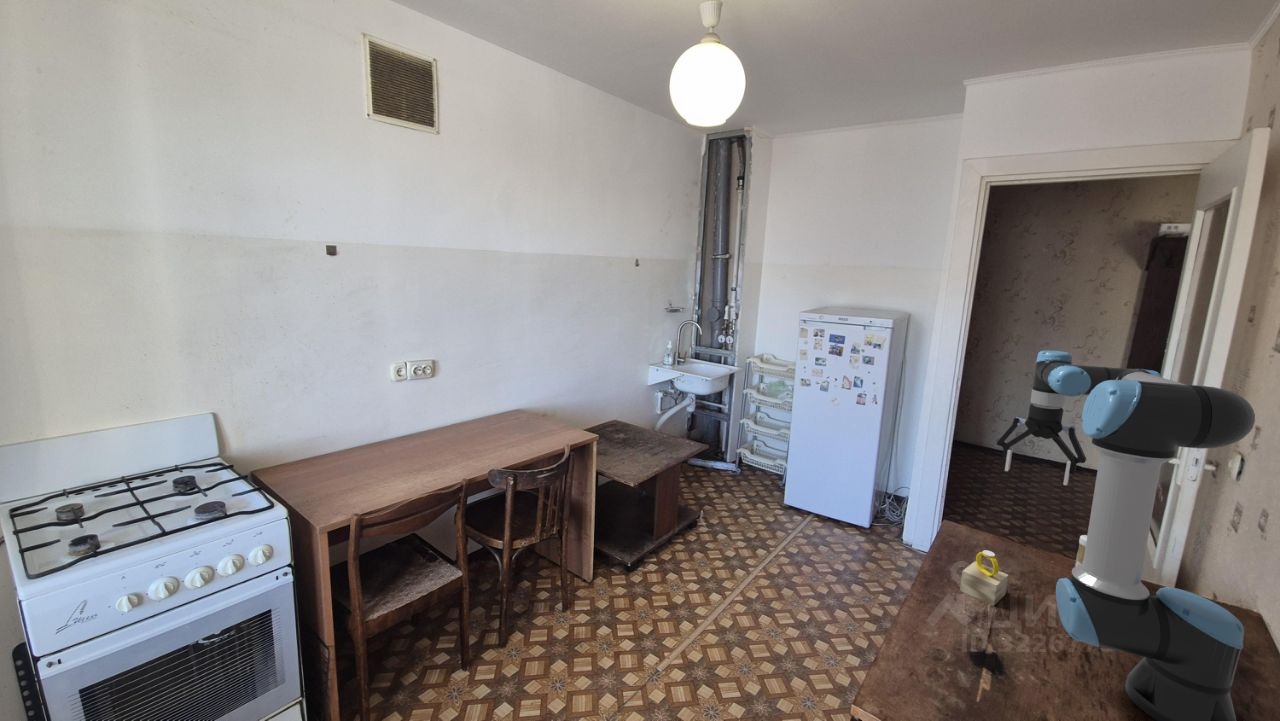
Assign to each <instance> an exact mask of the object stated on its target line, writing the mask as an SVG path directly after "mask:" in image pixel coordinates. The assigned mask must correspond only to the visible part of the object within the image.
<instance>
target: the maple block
mask: <svg viewBox="0 0 1280 721" xmlns="http://www.w3.org/2000/svg"><path fill="white" fill-rule="evenodd" d="M982 566H983V567H984V569H985V570H986V571H988V572H989V573H991V574H992V572H993V567H990V566H988V565H986V564H983V563H982ZM960 579H961V580H960V586H959V591H960V592H962V593H965V594H967V595H969V596H972V597H974V598H975V599H978V600H980V601H982V602H984V603H987V604H988V605H991V606H992V607H993V606H995V605H996V604H997V603H998V602H999V601H1001V599H1002V598H1003V597H1005V595H1006V592H1007V587H1008V580H1009V574H1007V573H1005V572H1002V571H1000V570H999V571H998V573H997V575H995V576H987V575H986V574H985V573H983V572H982V571H980V570H979V568H978V566H977V563H976V560H975V561H973V562H972V563H971V564H969V565H968V566H967V567H965V568H964V569H963V570H962V572H961V578H960Z"/></svg>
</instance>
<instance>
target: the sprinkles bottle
mask: <svg viewBox="0 0 1280 721" xmlns="http://www.w3.org/2000/svg"><path fill="white" fill-rule="evenodd" d="M1087 535H1088V534H1082V535H1080V536H1079V540H1078V544H1079V545H1078V550H1077V554H1076V558H1075V565H1074V567H1076V566H1079V565H1082V564H1083V560H1084V554H1085V547H1086V541H1087Z"/></svg>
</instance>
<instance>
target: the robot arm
mask: <svg viewBox="0 0 1280 721" xmlns="http://www.w3.org/2000/svg"><path fill="white" fill-rule="evenodd" d="M1072 357H1073V355H1072V354H1071V353H1069V352H1066V351H1062V350H1041V351H1039V352H1038V353H1037V358H1036V361H1035V369H1034V376H1033V382H1032V388H1031V394H1030V403H1031V404H1029V408H1028V414H1027V415H1028V416H1027V419H1024V418H1021V416H1015V417H1014V418H1013V421H1012V425H1010V427H1009V428H1008V429H1007V430H1006V431H1005V432H1004V433H1003V435H1002V436H1001V437H1000V438H999V439H998V440H997V442H996V445H997V446H1000V447H1002V456H1001V457H1002V459H1003V460H1005V466H1004V471H1005V472H1009V470H1010V469H1011V463H1012V456H1013V449H1014V448H1012V446H1014V445H1016V444H1017V443H1019V442H1021V441H1022V440H1023V439H1025V438H1027V437H1029V436H1031V435H1032V436H1034V437H1036V438H1043V439H1045V440H1050V439H1051V440H1052V441H1053V442H1054V443H1055V444H1056V445H1057V446H1058V448H1059V449H1060V450H1061V452H1062V453H1063V454H1064V455H1065V456H1066V458H1067V459H1068V460H1067V461H1066V465H1065V466H1066V467H1065V471H1064V477H1063V484H1062V485H1063V486H1068V484H1069V481H1070V480H1069V479H1070V474H1071V475H1074V474H1075V473H1076V468H1077V465H1078V464H1080V463H1081V464H1084V463H1086V460H1087V458H1086V457H1087V456H1086V455H1085V452H1084V451H1083V448H1082V446H1081V443H1080V441H1079V439H1078V437H1077V435H1076V427H1075V426H1074V425H1071V426H1065V425H1063V424H1062V421H1063V415H1064V409H1063V407H1065V403H1066V397H1079V396H1081V395H1083V396H1084V395H1085V396H1087V398H1086V399H1085V403H1084V405H1083V408H1082V413H1081V420H1082V422H1081V426H1082V430H1083V433H1084V434H1085V435H1086V436H1088V437H1090V438H1092V439H1091V445H1092V447H1094V449H1096V451H1098V452H1099V459H1098V466H1097V472H1096V478H1095V485H1094V492H1093V496H1092V497H1093V498H1092V504H1091V511H1090V518H1089V522H1088V529H1087V534H1086V535H1087V541H1086V547H1085V554H1084V560H1083V564H1082V565H1079V566H1076V567H1075V566H1074V567H1073V568H1072V569H1071V575H1070V579H1069V578H1068V577H1062V578H1061V577H1060V578H1059V579H1058V580H1057V582H1056V585H1055V600H1056V606H1057V612H1058V615H1059V619H1060V622H1061V624H1062V626H1063V628H1064V630H1065V632H1066V633H1067V635H1069V636H1070V638H1072V639H1074V640H1076V641H1078V642H1081V643H1084V644H1088V645H1093V646H1094V647H1095V648H1099V647H1100V648H1103V649H1104V648H1105V649H1110V650H1113V651H1118V652H1122V653H1126V654H1129V655H1130V654H1131V655H1135V656H1139V657H1143V658H1142V659H1141V660H1139V662H1138V663H1137V664H1136V665H1135V666H1134V667H1133V668H1132V670H1130V672H1129V673H1128V675H1127V677H1126V681H1125V686H1124V687H1125V692H1126V694H1127V696H1128V697H1129V699H1130V700H1131V702H1132V703H1133V704H1134V705H1136V706H1137V707H1138V708H1139V709H1140V710H1141V711H1143V712H1144V713H1145V714H1146V715H1148V716H1149V717H1151V718H1152V719H1153V720H1155V721H1237V717H1236V713H1235V709H1234V703H1233V701H1232V696H1231V689H1232V686H1233V682H1234V677H1235V674H1236V670H1237V667H1238V662H1239V659H1240V654H1241V652H1242V651H1241V650H1242V649H1243V648H1244V636H1245V628H1244V626H1243V624H1242V622H1241V621H1240V619H1238V617H1236V616H1235V615H1234V614H1233V613H1231V611H1229V610H1227V609H1226V608H1224V607H1223V606H1221V605H1219V604H1217V603H1215V602H1214V601H1212V600H1210V599H1207V598H1205V597H1203V596H1201V595H1198V594H1196V593H1194V592H1190V591H1188V590H1184V589H1180V588H1176V587H1171V586H1170V587H1169V586H1165V587H1160V588H1159V589H1158V590H1157V591H1156V595H1150V593H1151V592H1150V591H1149V589H1148V588H1147V587H1146V586H1145V585H1144V583H1143V582H1141V579H1142V574H1143V571H1144V570H1143V569H1144V568H1143V567H1144V563H1145V558H1146V552H1147V544H1148V540H1149V534H1150V529H1151V523H1152V519H1153V518H1152V517H1153V511H1154V505H1155V500H1156V494H1157V490H1158V483H1159V478H1160V471H1161V466H1162V465H1163V464H1165V463H1166V462H1169V461H1171V460H1174V458H1175V454H1176V450H1177V448H1178V447H1180V448H1189V449H1217V448H1224V447H1226V446H1230V445H1232V444H1235V443H1237V442H1239V441H1241V440H1243V439H1244V438H1246V436H1247V435H1249V434H1250V432H1251V431H1252V430H1253V428H1254V426H1255V422H1256V413H1255V411H1254V409H1253V406H1252V405H1251V403H1250V402H1249V401H1248V400H1246V399H1245V398H1244V397H1243V396H1241V395H1240V394H1237V393H1236V392H1232V391H1231V390H1228V389H1223V388H1219V387H1214V386H1206V385H1195V384H1192V385H1191V384H1185V383H1182V382H1179V381H1174V380H1171V379H1168V378H1164V377H1163V376H1162V375H1161V373H1159V372H1158V371H1155V370H1150V369H1144V368H1123V367H1122V368H1121V367H1109V366H1107V367H1106V366H1096V365H1095V366H1094V365H1083V364H1082V365H1080V364H1079V365H1078V364H1073V362H1072V361H1073V360H1072V359H1073V358H1072ZM1022 425H1025V426H1026V428H1027V429H1026V430H1025V431H1023V432H1022V433H1020V434H1019V435H1017V436H1015V437H1013V439H1011V440H1010V441H1007V442H1006V440H1007V439H1008V438H1009V437H1010V435H1011V434H1012V433H1013V432H1014V431H1015V430H1016V429H1017V428H1018V426H1022ZM1062 431H1063V432H1064V433H1065V434H1066V435H1067V436H1068V438H1069V440H1070V443H1071V445H1072V447H1073V449H1074V451H1075V454H1076V455H1075V454H1074V453H1073V452H1072V450H1071V449H1070V448H1069V446H1068V445H1067V444H1066V443H1065V441H1064V440H1063V439H1062V437H1061V435H1060V433H1061V432H1062Z"/></svg>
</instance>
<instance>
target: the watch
mask: <svg viewBox="0 0 1280 721" xmlns="http://www.w3.org/2000/svg"><path fill="white" fill-rule="evenodd" d="M982 556H984V557H985V558H987V559H990V561H991V563H992V566H993V567H992V568H993V572H992V574H991V573H989V572H988V571H986V570H985V569H984V567H983V566H982V564H983V562H982ZM975 561H976V563H977V566H978V568H979V570H980V571H982V572H983V573H985V574H986V575H987V576H995V575H997V573H998V571H1000V570H999V569H1000V567H999V563H998V560H997V559H996V554H995V553H994V552H993V551H991V550H987V549H986V550H985V549H984V550H982V551H980V552H978V553H977V554H976V557H975Z"/></svg>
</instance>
